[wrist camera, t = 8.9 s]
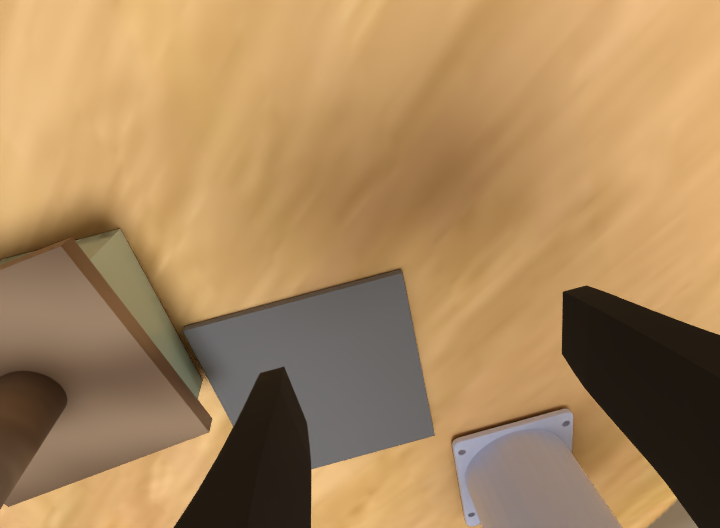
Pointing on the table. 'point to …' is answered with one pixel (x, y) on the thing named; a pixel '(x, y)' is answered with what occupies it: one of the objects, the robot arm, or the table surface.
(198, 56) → the table surface
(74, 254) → the lid
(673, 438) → the robot arm
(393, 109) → the table surface
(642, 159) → the table surface
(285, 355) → the mat
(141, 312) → the dish
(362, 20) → the table surface
